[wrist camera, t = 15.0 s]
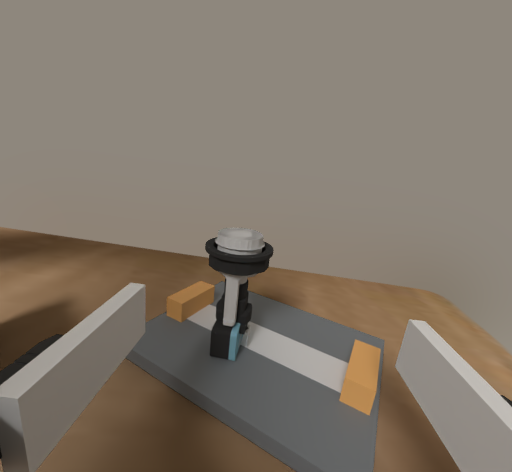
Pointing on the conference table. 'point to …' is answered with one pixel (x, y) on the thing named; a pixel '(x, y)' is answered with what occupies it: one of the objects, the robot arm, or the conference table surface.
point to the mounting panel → (273, 378)
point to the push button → (235, 285)
